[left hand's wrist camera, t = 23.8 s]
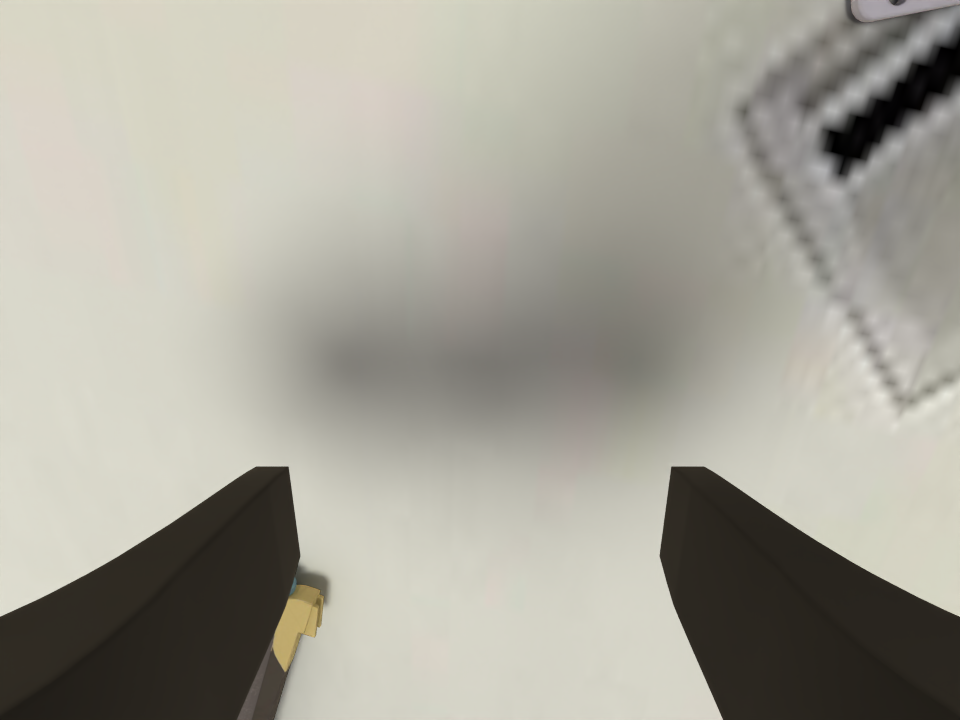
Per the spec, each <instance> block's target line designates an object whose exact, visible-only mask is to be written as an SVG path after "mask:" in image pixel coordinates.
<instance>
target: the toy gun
mask: <svg viewBox="0 0 960 720" xmlns="http://www.w3.org/2000/svg"><path fill="white" fill-rule="evenodd" d="M323 602H324V596H322V595H320V590H318V589H315V588H313V587H310V586H306V585H297V582H296V578H295V577H294V581H293V585H292V588H291V591H290V595H289V598H288V601H287V605H286V607H285V610H284V612H283V614H282V617H281V619H280V622H279V624H278V626H277V629H276V631H275V633H274V636H273V638H272V640H271V643H270V645H269V647H268V649H267V652H266V654H265V656H264V659H263V661H262V663H261V665H260V668H259V670H258V672H257V675H256V677H255V679H254V681H253V684H252V686H251V688H250V691H249V693H248V695H247V698H246V700H245V702H244V704H243V707H242V709H241V711H240V714H239V716H238V718H237V720H274V717H275V714H276V710H277V707H278V704H279V700H280V697H281V693H282V690H283V687H284V683H285V680H286V677H287V674H288V671H289V667H290V664H291V662H292V660H293V657H294V655H295V652H296V649H297V646H298V642H299V639H300V636H301V633H302V634H305V635H308V636H311V637H315V636H316V630H317V627H319V628H320V626H321V621H322V611H323Z"/></svg>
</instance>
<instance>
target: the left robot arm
mask: <svg viewBox="0 0 960 720" xmlns="http://www.w3.org/2000/svg"><path fill="white" fill-rule="evenodd" d="M959 4H960V0H898V2H897V3H896V4H895V5H893V4H891V3H890V1H889V0H851V9H852V13H853V15H854V16H855V18H856V19H858V20H859V21H861V22H873V21H878V20H883V19H888V18H893V17H899V16H904V15H909V14H914V13H919V12H924V11H929V10H934V9H939V8H944V7H949V6H954V5H959ZM299 559H300V549H299V542H298V534H297V527H296V519H295V512H294V504H293V497H292V489H291V482H290V474H289V467H255V468H253V469H251V470H250V471H248V472H246V473H245V474H243V475H242V476H240V477H238V478H237V479H235V480H234V481H232V482H231V483H230V484H228V485H227V486H225V487H224V488H222V489H221V490H219V491H218V492H216V493H215V494H214V495H212V496H211V497H209V498H208V499H206V500H205V501H203V502H202V503H200V504H199V505H198V506H196V507H195V508H193V509H192V510H190V511H189V512H187V513H186V514H184V515H183V516H181V517H180V518H178V519H177V520H175V521H174V522H172V523H171V524H169V525H168V526H166V527H165V528H163V529H161V530H160V531H158V532H157V533H155V534H154V535H152V536H150V537H149V538H147V539H146V540H144V541H142V542H141V543H139V544H138V545H136V546H134V547H133V548H131V549H130V550H128V551H126V552H125V553H123V554H122V555H120V556H118V557H117V558H115V559H113V560H111V561H110V562H108V563H106V564H105V565H103V566H101V567H99V568H97V569H96V570H94V571H92V572H90V573H88V574H87V575H85V576H83V577H81V578H79V579H77V580H75V581H73V582H71V583H70V584H68V585H66V586H64V587H62V588H60V589H58V590H56V591H54V592H52V593H50V594H48V595H46V596H44V597H42V598H40V599H38V600H36V601H34V602H32V603H29V604H27V605H25V606H23V607H21V608H18V609H16V610H14V611H12V612H10V613H8V614H5V615H3V616H1V617H0V720H237V718H238V716H239V714H240V711H241V709H242V707H243V704H244V702H245V700H246V698H247V695H248V693H249V691H250V688H251V686H252V684H253V681H254V679H255V677H256V675H257V672H258V670H259V668H260V665H261V663H262V661H263V659H264V656H265V654H266V652H267V649H268V647H269V645H270V643H271V640H272V638H273V636H274V633H275V631H276V629H277V626H278V624H279V622H280V619H281V617H282V614H283V612H284V610H285V607H286V605H287V601H288V598H289V595H290V591H291V588H292V585H293V581H294V577H295V574H296V570H297V566H298V563H299ZM660 559H661V563H662V566H663V570H664V574H665V577H666V581H667V585H668V588H669V591H670V595H671V598H672V601H673V605H674V607H675V610H676V612H677V614H678V617H679V619H680V622H681V624H682V626H683V629H684V631H685V633H686V636H687V638H688V640H689V643H690V645H691V647H692V649H693V652H694V654H695V656H696V659H697V661H698V663H699V665H700V668H701V670H702V672H703V675H704V677H705V679H706V681H707V684H708V686H709V688H710V691H711V693H712V695H713V698H714V700H715V702H716V704H717V707H718V709H719V711H720V714H721V716H722V718H723V720H960V617H959V616H957V615H954V614H952V613H950V612H948V611H945V610H943V609H941V608H939V607H937V606H935V605H933V604H931V603H929V602H927V601H924V600H922V599H920V598H918V597H916V596H914V595H912V594H910V593H909V592H907V591H905V590H903V589H901V588H899V587H897V586H895V585H893V584H891V583H889V582H887V581H885V580H884V579H882V578H880V577H878V576H876V575H874V574H872V573H870V572H868V571H867V570H865V569H863V568H861V567H860V566H858V565H856V564H854V563H852V562H851V561H849V560H847V559H846V558H844V557H842V556H841V555H839V554H837V553H836V552H834V551H832V550H831V549H829V548H827V547H826V546H824V545H822V544H821V543H819V542H817V541H816V540H814V539H813V538H811V537H810V536H808V535H806V534H805V533H803V532H802V531H800V530H799V529H797V528H796V527H794V526H793V525H791V524H789V523H788V522H786V521H785V520H783V519H782V518H780V517H779V516H777V515H776V514H775V513H773V512H772V511H770V510H769V509H767V508H766V507H764V506H763V505H761V504H760V503H758V502H757V501H755V500H754V499H753V498H751V497H750V496H748V495H747V494H745V493H744V492H742V491H741V490H740V489H738V488H737V487H735V486H734V485H732V484H731V483H729V482H728V481H726V480H725V479H723V478H722V477H720V476H719V475H717V474H716V473H714V472H712V471H711V470H709V469H707V468H706V467H671V474H670V482H669V489H668V497H667V504H666V512H665V519H664V527H663V534H662V542H661V549H660Z"/></svg>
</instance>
